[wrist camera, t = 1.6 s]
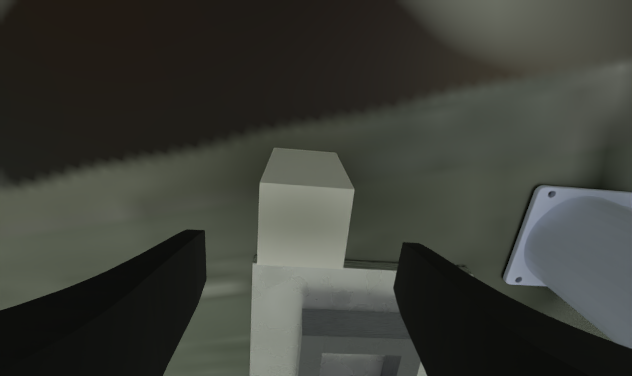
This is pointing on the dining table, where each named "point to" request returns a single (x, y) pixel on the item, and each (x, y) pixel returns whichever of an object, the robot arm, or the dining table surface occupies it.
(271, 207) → the plug
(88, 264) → the dining table surface
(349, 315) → the socket
